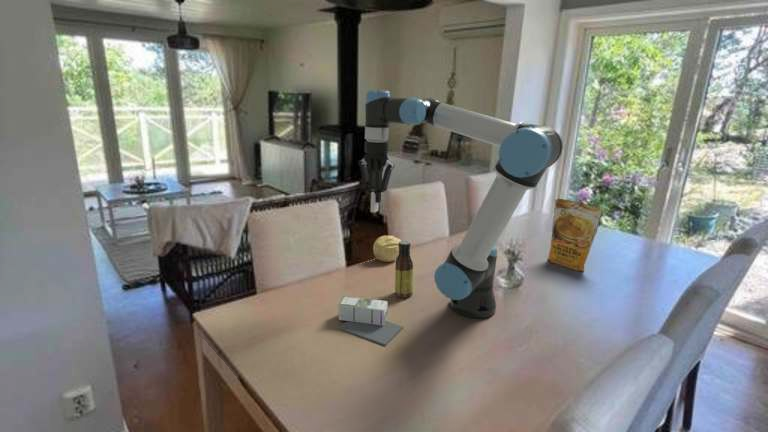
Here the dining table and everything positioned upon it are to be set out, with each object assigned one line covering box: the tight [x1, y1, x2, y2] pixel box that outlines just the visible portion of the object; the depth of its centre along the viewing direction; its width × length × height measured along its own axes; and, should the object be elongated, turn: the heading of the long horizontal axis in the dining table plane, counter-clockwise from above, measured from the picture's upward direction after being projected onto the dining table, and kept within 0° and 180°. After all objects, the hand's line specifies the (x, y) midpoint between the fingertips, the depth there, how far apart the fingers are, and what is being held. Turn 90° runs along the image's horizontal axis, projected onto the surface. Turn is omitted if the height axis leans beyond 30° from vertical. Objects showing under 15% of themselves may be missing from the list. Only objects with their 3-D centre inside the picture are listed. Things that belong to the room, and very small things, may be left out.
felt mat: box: [338, 320, 404, 347], centre depth 123 cm, size 16×11×1 cm
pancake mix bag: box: [547, 198, 603, 272], centre depth 173 cm, size 7×19×28 cm, turn 40°
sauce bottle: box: [394, 240, 414, 299], centre depth 142 cm, size 6×6×20 cm
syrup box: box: [338, 295, 389, 326], centre depth 127 cm, size 6×6×14 cm
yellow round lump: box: [372, 235, 402, 263], centre depth 174 cm, size 12×12×11 cm
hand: (374, 211), depth 137 cm, fingers closed
